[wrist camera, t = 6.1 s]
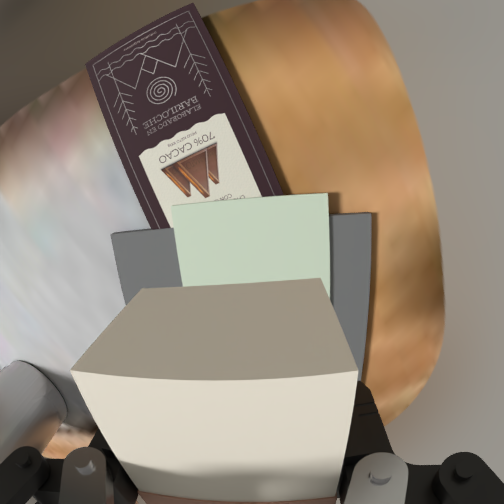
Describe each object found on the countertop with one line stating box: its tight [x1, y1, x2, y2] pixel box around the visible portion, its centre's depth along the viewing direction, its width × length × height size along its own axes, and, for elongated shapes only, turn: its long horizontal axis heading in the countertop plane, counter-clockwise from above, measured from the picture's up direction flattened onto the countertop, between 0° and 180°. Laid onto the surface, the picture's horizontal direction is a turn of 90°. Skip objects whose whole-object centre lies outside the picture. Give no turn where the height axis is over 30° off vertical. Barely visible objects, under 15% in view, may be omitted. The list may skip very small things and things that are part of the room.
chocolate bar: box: [85, 3, 284, 230], centre depth 19 cm, size 9×1×18 cm
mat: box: [111, 193, 371, 381], centre depth 22 cm, size 18×18×1 cm
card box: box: [70, 278, 358, 504], centre depth 8 cm, size 8×5×4 cm, turn 5°
